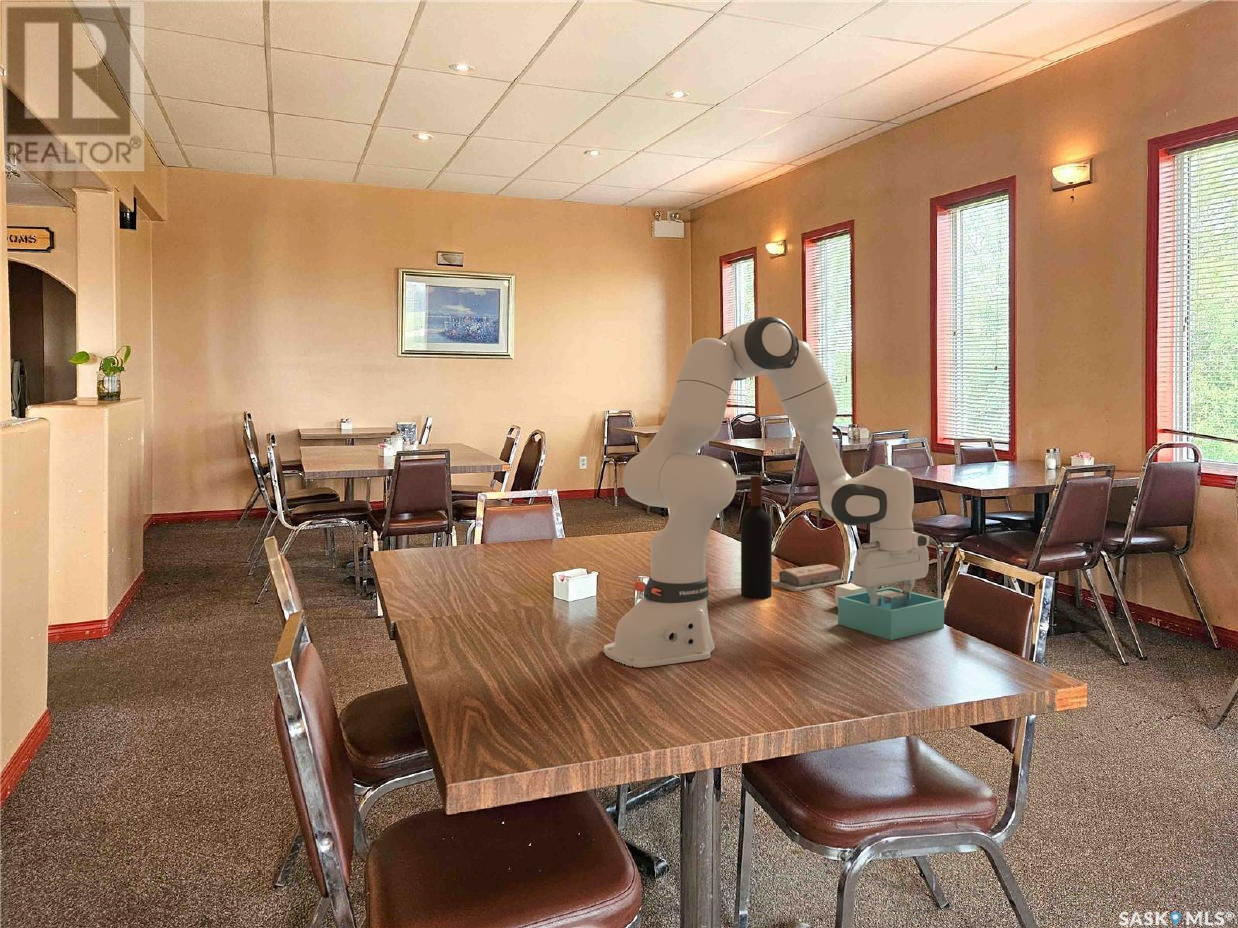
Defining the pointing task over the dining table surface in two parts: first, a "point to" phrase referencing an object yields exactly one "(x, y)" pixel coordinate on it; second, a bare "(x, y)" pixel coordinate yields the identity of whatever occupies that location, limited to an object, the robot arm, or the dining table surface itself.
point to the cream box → (847, 591)
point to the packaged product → (808, 577)
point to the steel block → (892, 600)
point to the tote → (891, 615)
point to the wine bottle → (756, 547)
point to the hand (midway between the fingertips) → (890, 602)
